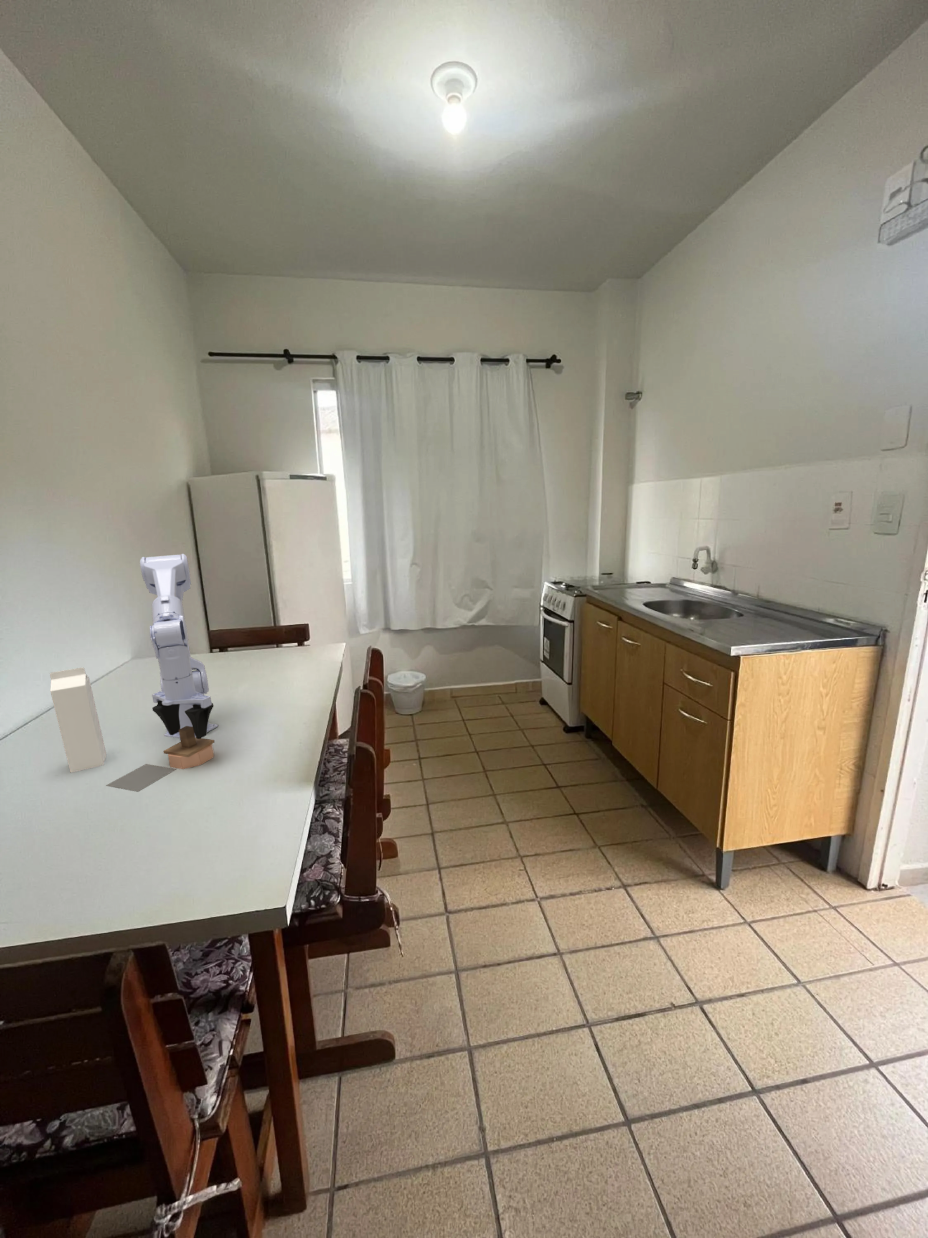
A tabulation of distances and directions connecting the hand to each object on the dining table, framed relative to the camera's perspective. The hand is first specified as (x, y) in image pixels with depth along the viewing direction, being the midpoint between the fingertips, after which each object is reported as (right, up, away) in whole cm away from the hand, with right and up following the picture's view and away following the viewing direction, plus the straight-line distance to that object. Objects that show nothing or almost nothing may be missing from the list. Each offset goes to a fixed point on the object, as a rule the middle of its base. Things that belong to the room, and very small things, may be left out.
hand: (188, 735), depth 111 cm
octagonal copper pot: (0, -6, +1) cm, 6 cm away
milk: (-23, -7, +2) cm, 24 cm away
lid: (0, -3, 0) cm, 3 cm away
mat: (-6, -8, -6) cm, 11 cm away
